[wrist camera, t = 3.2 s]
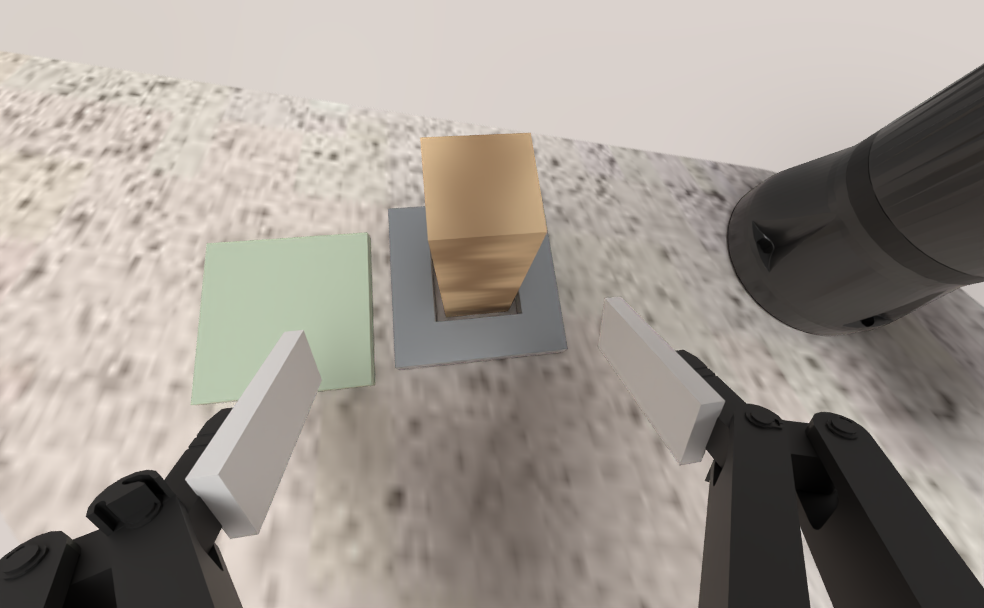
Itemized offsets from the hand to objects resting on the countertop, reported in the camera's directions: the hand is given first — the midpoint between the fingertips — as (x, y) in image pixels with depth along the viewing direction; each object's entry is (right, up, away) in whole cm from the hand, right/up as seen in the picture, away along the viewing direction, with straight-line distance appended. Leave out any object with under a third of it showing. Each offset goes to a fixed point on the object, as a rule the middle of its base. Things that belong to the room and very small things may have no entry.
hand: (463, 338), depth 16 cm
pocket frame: (0, +3, +13) cm, 13 cm away
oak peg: (0, +3, +13) cm, 13 cm away
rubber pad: (-14, +1, +11) cm, 18 cm away
